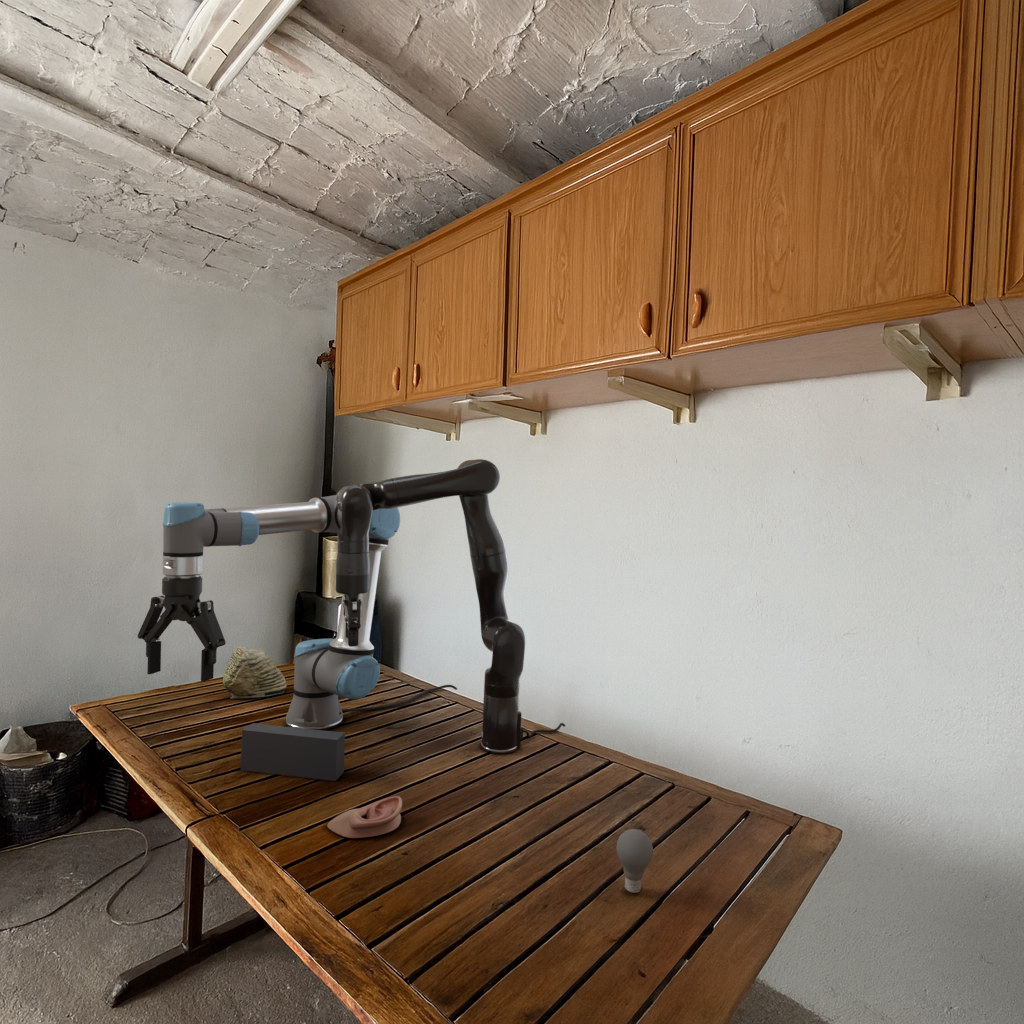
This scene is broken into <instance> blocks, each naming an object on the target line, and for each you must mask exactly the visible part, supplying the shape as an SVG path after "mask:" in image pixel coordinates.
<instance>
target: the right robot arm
mask: <svg viewBox="0 0 1024 1024" xmlns="http://www.w3.org/2000/svg"><path fill="white" fill-rule="evenodd" d="M500 481H501V474H500V470H499V469H498V467H497V466H496V464H494V462H492V461H490V460H487V459H482V458H477V459H467V460H464V461H462V462H461V463H460V464H459V465H458V467H457V468H454V469H450V470H445V471H440V472H431V473H420V474H418V473H417V474H411V475H403V476H398V477H393V478H392V477H391V478H386V479H383V480H379V481H374V482H373V481H371V482H362V483H355V484H349V485H345V486H343V487H342V488H340V489H339V491H338V492H337V493H336V495H337V496H336V505H337V507H338V509H339V510H340V511H341V512H342V519H341V528H340V529H339V532H338V533H337V542H336V543H337V549H336V550H337V551H336V561H335V592H336V593H337V594H339V595H340V594H341V595H343V594H344V596H345V600H343V607H344V609H343V612H344V616H345V618H344V620H345V621H347V622H346V630H345V636H346V638H348V645H349V646H350V647H352V646H358V635H359V630H358V629H359V628H360V627H361V624H360V620H361V607H362V601H361V599H359V597H358V596H359V594H363V593H367V592H368V591H369V571H370V561H369V528H370V523H371V517H372V510H377V509H391V508H397V507H398V508H402V507H408V506H411V505H418V504H421V503H426V502H430V501H435V500H438V499H444V498H450V497H456V496H457V497H459V501H460V503H461V508H462V512H463V517H464V522H465V529H466V536H467V543H468V549H469V555H470V562H471V568H472V573H473V578H474V583H475V590H476V594H477V595H476V596H477V599H478V606H479V620H480V621H479V622H480V636H481V640H482V644H483V645H484V646H485V648H486V649H487V650H488V651H490V652H492V657H491V665H490V667H487V668H486V669H485V671H484V678H483V679H484V680H483V703H482V705H483V706H482V727H481V731H480V733H481V734H480V735H481V743H480V748H481V749H482V750H484V751H485V752H487V753H491V754H499V755H500V754H501V755H502V754H510V753H513V752H515V751H516V750H519V749H521V740H524V733H525V734H526V737H527V738H531V737H532V736H533V735H534V734H537V733H556V732H558V731H559V730H560V728H562V727H563V728H564V727H566V724H565V723H564V722H560V723H559V724H558V726H557V727H556V728H553V729H534V730H532V731H531V732H529V731H528V730H527V729H524V727H523V726H522V711H521V710H519V707H520V688H521V687H520V686H521V676H522V674H523V672H524V667H525V657H526V655H525V654H526V634H525V631H524V629H523V627H522V626H521V625H520V624H518V623H517V622H515V621H511V620H510V619H509V615H508V611H507V605H506V600H505V593H506V592H505V591H506V586H507V583H508V582H507V581H508V576H509V562H508V555H507V551H506V544H505V541H504V538H503V536H502V533H501V532H500V529H499V527H498V525H497V523H496V521H495V519H494V517H493V514H492V511H491V507H490V501H489V495H490V494H492V493H493V492H494V491H496V489H498V486H499V484H500ZM354 621H356V622H357V623H355V622H354Z"/></svg>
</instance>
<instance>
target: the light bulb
mask: <svg viewBox="0 0 1024 1024" xmlns="http://www.w3.org/2000/svg"><path fill="white" fill-rule="evenodd" d="M615 849H616V854H617V857H618V859H619V861H620V863H621V865H622V867H623V873H624V874H623V875H624V876H625V878H624V888H625V890H627V891H628V892H630V893H634V894H635V893H639V892H640V891H641V889H642V887H641V886H642V879H643V877H644V875H645V871H646V868H647V867H648V866H649V864H650V863H651V861H652V859H653V855H654V847H653V843H652V841H651V838H649V836H648V835H647V834H646V833H645V832H643V831H642V830H641V829H636V828H629V829H627V830H625V831H623V832H622V833H621V834H620V835H619V837H618V839H617V841H616V847H615Z"/></svg>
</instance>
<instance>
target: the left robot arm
mask: <svg viewBox="0 0 1024 1024" xmlns="http://www.w3.org/2000/svg"><path fill="white" fill-rule="evenodd" d="M336 496H337V494H333V495H328V496H321V497H313V498H310V499H309V500H308V501H303V502H301V501H300V502H288V503H287V502H286V503H275V504H274V503H273V504H260V505H258V504H257V505H245V506H233V507H231V506H230V507H221V508H220V507H219V508H218V507H217V508H205V505H204V504H203V503H201V502H177V501H174V502H168V503H167V504H165V506H164V510H163V520H162V521H163V522H162V527H163V528H162V530H163V531H162V535H163V536H162V538H163V539H162V541H163V542H162V543H163V547H162V575H164V577H163V578H162V579H161V594H162V595H158V596H152V597H151V598H150V605H149V609H148V611H147V613H146V615H145V618H144V620H143V622H142V624H141V627H140V629H139V630H138V633H137V639H139V640H141V639H142V641H144V642H145V655H146V658H147V675H153V674H155V673H160V672H162V671H161V668H162V641H161V638H160V637H162V635H163V633H164V632H165V631H166V630H167V628H168V627H169V626H170V624H171V623H172V622H173V621H179V622H186V624H188V625H190V627H191V628H192V630H193V632H194V633H195V634H196V636H197V638H198V639H199V641H200V642H201V645H202V646H203V647H204V648H203V649H201V654H200V655H201V656H200V657H201V661H200V682H203V683H204V682H207V681H210V680H213V679H214V671H215V669H214V667H215V666H214V665H216V663H217V652H218V651H217V649H218V648H220V647H222V646H225V645H226V643H227V641H226V639H225V636H224V634H223V631H222V628H221V626H220V623H219V621H218V620H219V619H218V618H217V615H216V613H215V607H214V601H213V600H212V599H210V600H205V601H201V598H200V596H201V594H202V593H203V577H202V576H201V575H202V574H203V573H204V569H203V568H204V547H206V548H209V547H235V546H238V547H242V546H247V545H252V544H254V543H256V541H257V539H258V538H259V536H263V535H265V536H266V535H273V534H284V533H293V532H303V531H311V532H313V533H317V534H318V533H335V534H338V532H339V529H340V528H341V519H342V512H341V511H340V510H339V509H338V507H337V505H336ZM400 526H401V513H400V510H399V507H397V508H391V509H377V510H372V517H371V523H370V528H369V561H370V571H369V591H368V592H367V593H363V594H359V596H358V597H359V599H361V601H362V607H361V620H360V624H361V627H360V628H359V629H358V630H359V635H358V646H352V647H350V646H349V645H348V638H346V636H345V630H346V622H347V621H345V620H344V618H345V616H344V612H343V609H344V607H343V600H345V596H344V594H341V595H342V596H341V603H340V610H339V615H338V616H339V618H338V624H337V631H336V637H335V638H317V639H308V640H304V641H300V642H299V643H297V645H296V646H295V650H294V655H293V657H294V672H293V673H294V674H293V695H292V696H293V697H292V699H291V702H290V704H289V708H288V711H287V713H286V715H285V727H294V728H303V729H313V730H323V731H330V730H332V729H335V728H337V727H339V726H340V725H342V723H343V722H344V714H343V713H346V712H365V711H373V710H380V709H387V708H392V707H397V706H400V705H404V704H407V703H411V702H412V701H414V700H416V699H417V698H420V697H421V696H423V695H425V694H427V693H431V692H434V691H438V690H442V689H445V688H452V689H454V690H458V687H457V686H455V685H453V684H444V685H440V686H436V687H433V688H429V689H426V690H424V691H422V692H420V693H418V694H416V695H414V696H413V697H411V698H408V699H406V700H402V701H399V702H394V703H390V704H385V705H377V706H369V707H359V708H358V707H357V708H355V707H354V708H342V706H341V702H340V699H339V698H342V699H348V700H353V701H355V700H356V701H357V700H360V699H363V698H364V697H366V696H368V695H369V694H370V692H371V691H373V690H374V689H375V687H376V686H377V684H378V681H379V679H380V676H381V675H380V673H381V667H380V664H379V662H378V660H376V658H374V653H375V652H374V650H375V646H374V645H373V644H372V642H371V641H370V638H371V630H372V623H373V617H374V609H375V602H376V596H377V595H376V594H377V586H378V579H379V572H380V565H381V558H382V552H383V551H384V550H385V549H387V548H388V547H389V541H390V539H391V538H392V537H394V536H395V534H396V533H397V532H398V531H399V528H400ZM163 609H164V611H163ZM354 622H355V623H357V622H356V621H354Z"/></svg>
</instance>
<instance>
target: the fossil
mask: <svg viewBox="0 0 1024 1024" xmlns="http://www.w3.org/2000/svg"><path fill="white" fill-rule="evenodd" d="M222 676H223V677H222V685H223V687H224V688H225V690H226V691H228V693H229V698H230V699H250V698H264V697H271V696H275V695H281V694H284V693H285V691H286V689H287V687H288V686H287V680H286V678H285V676H284V674H283V673H282V672H281V669H279V668H278V667H277V665H276V663H275V662H274V660H273V659H272V658H271V657H270V656H269V655H268V654H267V653H266V652H265V650H264V649H263V648H260V647H258V648H251V647H247V646H246V647H245V646H238V647H237V648H236V649H235V650H233V651H232V653H231V656H230V657H229V659H228V660H227V663H226V666H225V668H224V671H223V675H222Z"/></svg>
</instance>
